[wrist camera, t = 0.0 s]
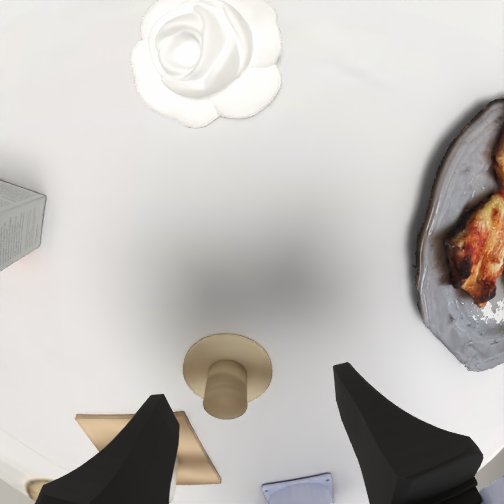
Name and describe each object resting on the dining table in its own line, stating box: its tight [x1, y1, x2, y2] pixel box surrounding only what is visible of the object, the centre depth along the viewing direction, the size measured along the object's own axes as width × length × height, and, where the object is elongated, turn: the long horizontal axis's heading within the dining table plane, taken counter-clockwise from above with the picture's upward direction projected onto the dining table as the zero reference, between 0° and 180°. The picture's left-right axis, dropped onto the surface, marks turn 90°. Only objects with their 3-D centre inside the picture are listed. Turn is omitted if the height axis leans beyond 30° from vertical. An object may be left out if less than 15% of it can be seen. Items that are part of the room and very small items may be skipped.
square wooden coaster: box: [75, 412, 221, 485], centre depth 27 cm, size 12×12×1 cm
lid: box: [183, 334, 272, 419], centre depth 22 cm, size 7×7×4 cm
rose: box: [130, 0, 282, 128], centre depth 15 cm, size 10×4×10 cm
